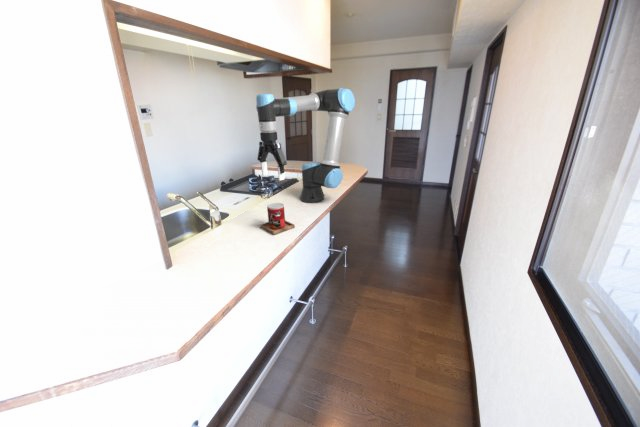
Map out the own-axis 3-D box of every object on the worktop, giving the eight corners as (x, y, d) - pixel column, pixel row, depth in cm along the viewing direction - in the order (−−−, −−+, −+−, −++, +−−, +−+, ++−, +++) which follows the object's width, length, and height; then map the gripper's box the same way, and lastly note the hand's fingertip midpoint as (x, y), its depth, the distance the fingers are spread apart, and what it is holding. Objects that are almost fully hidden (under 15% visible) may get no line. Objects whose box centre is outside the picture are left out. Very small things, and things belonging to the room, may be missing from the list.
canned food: (265, 228, 131) (263, 206, 127) (275, 222, 137) (274, 201, 133) (278, 231, 128) (277, 209, 124) (288, 224, 134) (287, 203, 130)
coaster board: (280, 220, 141) (280, 218, 140) (294, 227, 132) (294, 224, 132) (260, 227, 133) (259, 224, 133) (273, 235, 125) (273, 232, 124)
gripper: (246, 131, 128) (252, 175, 136) (278, 133, 111) (282, 183, 120) (260, 129, 133) (265, 172, 141) (292, 132, 116) (295, 180, 124)
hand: (273, 177), depth 130 cm, fingers open, 13 cm apart
